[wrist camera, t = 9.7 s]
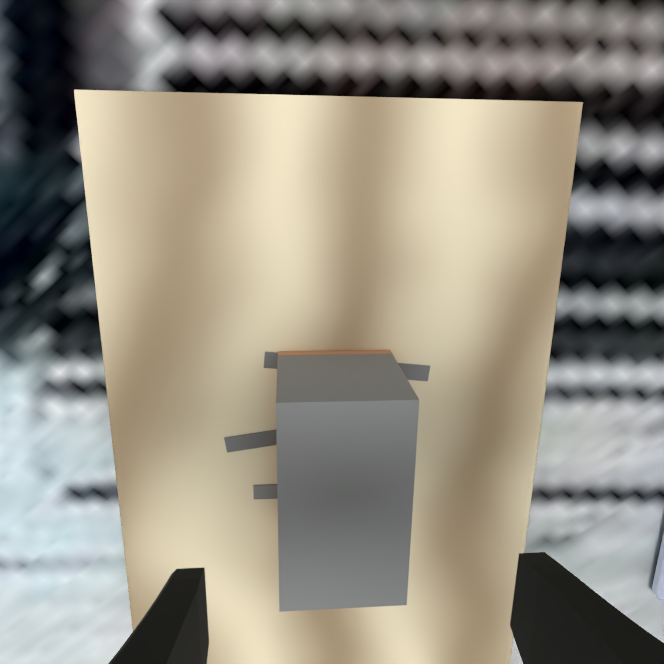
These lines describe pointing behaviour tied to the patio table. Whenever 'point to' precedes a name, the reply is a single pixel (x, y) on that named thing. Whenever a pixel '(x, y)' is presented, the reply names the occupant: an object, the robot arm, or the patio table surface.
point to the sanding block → (344, 479)
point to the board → (325, 339)
